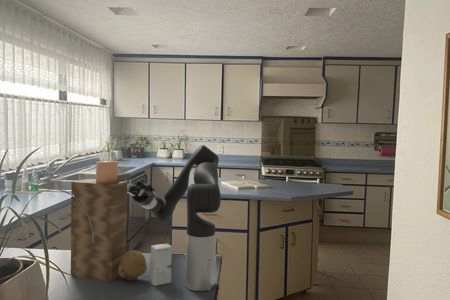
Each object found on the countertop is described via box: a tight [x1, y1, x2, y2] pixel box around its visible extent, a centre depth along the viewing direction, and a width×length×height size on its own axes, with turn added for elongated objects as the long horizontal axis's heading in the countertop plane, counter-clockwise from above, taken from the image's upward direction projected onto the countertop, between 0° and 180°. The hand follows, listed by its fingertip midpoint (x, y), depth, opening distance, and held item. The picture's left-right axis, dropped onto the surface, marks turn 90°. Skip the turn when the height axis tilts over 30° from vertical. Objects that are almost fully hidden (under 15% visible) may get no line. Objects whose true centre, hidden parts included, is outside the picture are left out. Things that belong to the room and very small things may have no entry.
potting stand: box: [70, 178, 128, 283], centre depth 121 cm, size 16×8×32 cm, turn 74°
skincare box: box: [149, 243, 173, 287], centre depth 116 cm, size 6×4×12 cm
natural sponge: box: [118, 249, 148, 281], centre depth 116 cm, size 9×9×10 cm
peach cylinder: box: [95, 160, 132, 184], centre depth 123 cm, size 7×16×7 cm, turn 164°
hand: (127, 182), depth 131 cm, fingers open, 8 cm apart
